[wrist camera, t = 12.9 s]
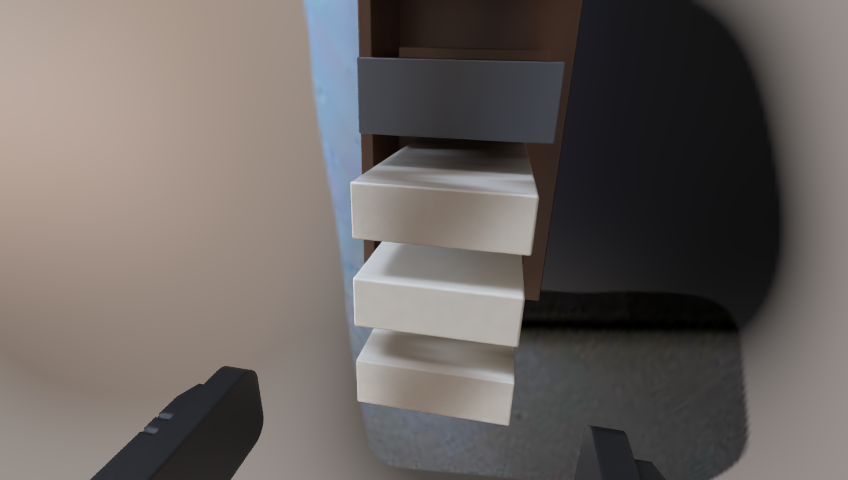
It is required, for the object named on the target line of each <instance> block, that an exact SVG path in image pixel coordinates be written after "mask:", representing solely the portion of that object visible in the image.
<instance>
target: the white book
mask: <svg viewBox="0 0 848 480" xmlns="http://www.w3.org/2000/svg"><path fill="white" fill-rule="evenodd" d="M353 292H354V321H355V325H356V326H362V327H369V328H376V329H384V330H391V331H399V332H406V333H414V334H421V335H429V336H436V337H443V338H451V339H458V340H466V341H473V342H481V343H488V344H496V345H503V346H510V347H518V345H519V339H520V331H521V324H522V316H523V309H524V301H525V296H524V282H523V268H522V255H517V254H507V253H497V252H487V251H476V250H466V249H456V248H446V247H435V246H425V245H415V244H405V243H394V242H384V241H382V242H381V243H380V245H379V246H378V247H377V249H376V250H375V251H374V252H373V254H372V255H371V256H370V258H369V259H368V260H367V261H366V263H365V264H364V265H363V267H362V268H361V269H360V270H359V272H358V273H357V274H356V276H355V277H354V278H353Z"/></svg>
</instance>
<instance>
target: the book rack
mask: <svg viewBox="0 0 848 480" xmlns="http://www.w3.org/2000/svg"><path fill="white" fill-rule="evenodd" d="M582 4H583V0H358V29H359V57H358V58H357V66H358V104H359V133H361V148H362V175H361V176H359V177H358V178H356V179H355V180H353V181H352V182H351V183H350V189H351V217H352V237H353V238H354V239H364V264H365V263H366V261H367V260H368V259H369V258H370V256H371V255H372V254H373V252H374V251H375V250H376V249H377V247H378V246H379V245H380V243H381V242H382V241H384V242H394V243H405V244H415V245H425V246H435V247H446V248H456V249H466V250H476V251H487V252H497V253H507V254H517V255H522V268H523V282H524V296H525V299H526V300H535V301H539V298H540V291H541V284H542V277H543V271H544V264H545V257H546V250H547V243H548V236H549V229H550V222H551V216H552V209H553V202H554V194H555V188H556V182H557V175H558V167H559V161H560V154H561V147H562V140H563V133H564V126H565V120H566V113H567V106H568V99H569V93H570V85H571V79H572V72H573V64H574V58H575V51H576V45H577V38H578V30H579V24H580V17H581V10H582ZM356 366H357V393H358V401H360V402H366V403H372V404H378V405H384V406H390V407H396V408H402V409H409V410H415V411H421V412H427V413H433V414H439V415H445V416H451V417H458V418H464V419H470V420H476V421H482V422H488V423H494V424H500V425H506V426H509V422H510V415H511V407H512V399H513V392H514V384H515V382H514V347H510V346H503V345H496V344H488V343H481V342H473V341H466V340H458V339H451V338H443V337H436V336H429V335H421V334H414V333H406V332H399V331H391V330H384V329H376V328H374V329H373V331H372V333H371V335H370V336H369V338H368V340H367V342H366V344H365V346H364V347H363V349H362V351H361V353H360V355H359V357H358V359H357V360H356Z"/></svg>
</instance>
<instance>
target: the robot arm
mask: <svg viewBox="0 0 848 480" xmlns="http://www.w3.org/2000/svg"><path fill="white" fill-rule="evenodd" d="M262 426H263V411H262V404H261V397H260V391H259V384H258V377H257V374H256V373H255V371H252V370H247V369H241V368H235V367H229V366H224V367H222V368H220V369H219V370H218V371H217V372H216V373H215V374H214V375H213V376H212V377H211V378H210V379H209V380H208V381H207V382H206V383H205V384H204V385H203V384H198V385H196V386H194V387H193V388H191V389H189V390H188V391H186V392H184V393H182V394H181V395H179V396H177V397H176V398H175V399H174V400H173V401H172V402H171V403H170V404H169V405H168V406H167V407H166V408H165V409H164V410H162V411H161V412H160V413H159V416H158V417H155V418H154V419H153V420H152V421H151V422H150V423H149V424H148V425H147V426H146V427H145V428H144V431H143V432H140V433H138V435H137V436H135V437H134V438H133V439H132V440H131V441H130V442H129V443H128V444H127V445H126V446H125V447H124V448H123V449H122V450H121V451H120V452H119V453H118V454H117V455H116V456H114V457H113V458H112V459H111V460H110V461H109V462H108V463H107V464H106V465H105V466H104V467H103V468H102V469H101V470H100V471H99V472H98V473H97V474H96V475H95V476H94V477H93V478H92V479H91V480H231V478H232V477H233V475H234V474H235V473H236V471H237V470H238V468H239V467H240V465H241V464H242V462H243V461H244V460H245V458H246V456H247V455H248V453H249V452H250V451H251V450H252V448H253V447H254V445H255V444H256V442H257V440H258V438H259V436H260V433H261V430H262ZM575 480H665V478H664V477H663V476H662V475H661V473H660V472H659V471H658V470H657V468H656V467H655V466H654V465H653V463H652V462H648V461H642V460H636V459H634V457H633V454H632V450H631V447H630V444H629V441H628V438H627V435H626V433H625V432H624V431H621V430H615V429H608V428H602V427H596V426H590V425H588V426H587V427H586V429H585V432H584V437H583V441H582V446H581V450H580V455H579V460H578V464H577V469H576V474H575Z"/></svg>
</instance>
